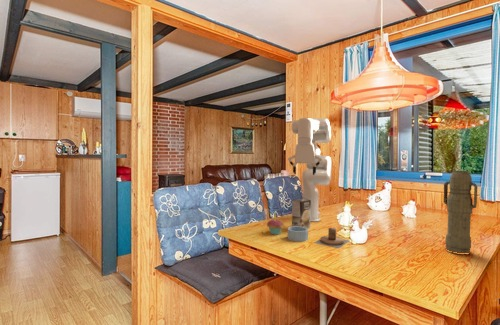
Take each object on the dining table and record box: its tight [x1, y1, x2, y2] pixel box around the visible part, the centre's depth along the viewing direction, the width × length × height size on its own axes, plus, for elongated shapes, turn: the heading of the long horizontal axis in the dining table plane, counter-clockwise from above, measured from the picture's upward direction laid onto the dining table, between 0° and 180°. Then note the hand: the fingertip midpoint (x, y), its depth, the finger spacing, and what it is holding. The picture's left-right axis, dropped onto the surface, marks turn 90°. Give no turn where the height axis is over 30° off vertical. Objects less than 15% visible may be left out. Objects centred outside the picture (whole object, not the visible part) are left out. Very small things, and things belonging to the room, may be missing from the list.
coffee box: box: [291, 198, 311, 230], centre depth 160 cm, size 9×6×16 cm
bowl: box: [287, 226, 309, 242], centre depth 141 cm, size 10×10×5 cm
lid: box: [320, 227, 345, 245], centre depth 136 cm, size 11×11×6 cm
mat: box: [313, 238, 350, 249], centre depth 136 cm, size 14×12×1 cm
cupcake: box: [266, 212, 284, 235], centre depth 150 cm, size 9×8×12 cm
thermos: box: [443, 170, 478, 253], centre depth 125 cm, size 9×12×35 cm
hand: (304, 174), depth 152 cm, fingers open, 9 cm apart
